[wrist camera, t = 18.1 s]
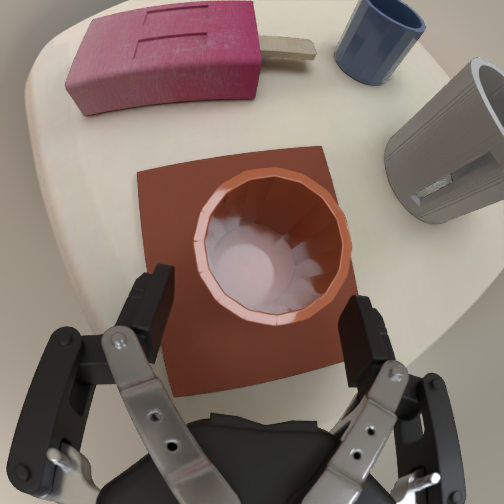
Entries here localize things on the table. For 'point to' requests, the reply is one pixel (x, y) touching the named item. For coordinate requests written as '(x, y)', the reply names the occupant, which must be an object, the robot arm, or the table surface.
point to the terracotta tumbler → (272, 246)
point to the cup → (453, 147)
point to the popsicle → (174, 56)
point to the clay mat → (201, 301)
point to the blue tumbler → (377, 39)
